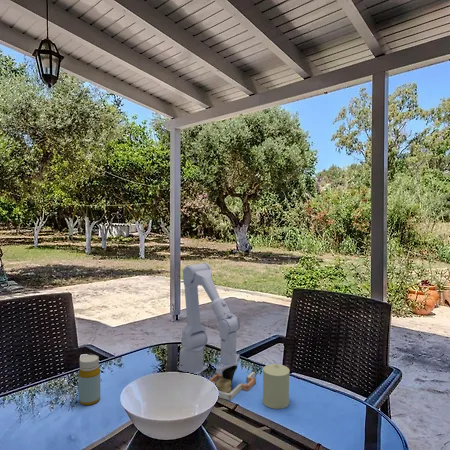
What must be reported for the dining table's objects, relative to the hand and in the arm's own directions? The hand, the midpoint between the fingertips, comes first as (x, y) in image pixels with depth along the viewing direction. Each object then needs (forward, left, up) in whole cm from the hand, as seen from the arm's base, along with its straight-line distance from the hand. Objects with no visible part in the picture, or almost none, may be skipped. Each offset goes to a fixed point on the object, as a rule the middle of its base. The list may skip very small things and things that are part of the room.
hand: (228, 384), depth 139 cm
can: (+19, 0, -1) cm, 19 cm away
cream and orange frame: (0, +3, -1) cm, 3 cm away
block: (0, -3, -1) cm, 4 cm away
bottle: (-37, -32, -1) cm, 49 cm away
